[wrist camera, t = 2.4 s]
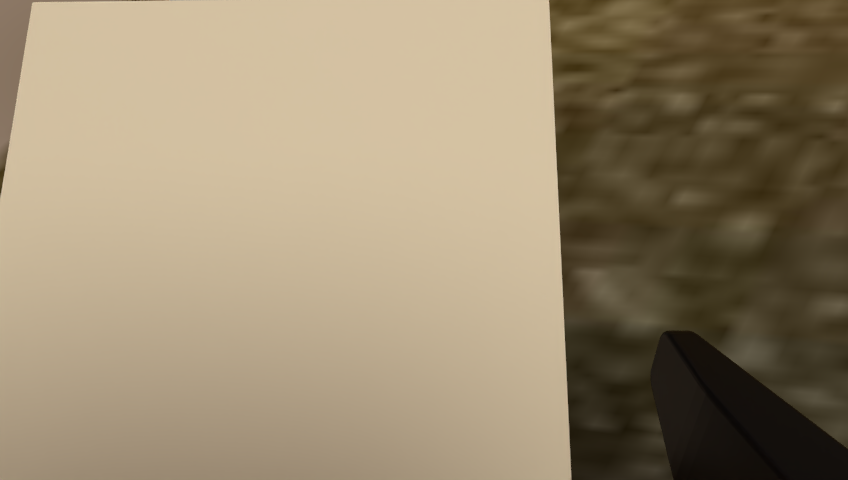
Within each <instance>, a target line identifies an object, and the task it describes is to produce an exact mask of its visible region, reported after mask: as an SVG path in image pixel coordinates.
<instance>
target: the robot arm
mask: <svg viewBox="0 0 848 480" xmlns="http://www.w3.org/2000/svg"><path fill="white" fill-rule="evenodd" d="M651 386H652V390H653V395H654V399H655V403H656V407H657V412H658V416H659V420H660V425H661V429H662V433H663V437H664V442H665V446H666V450H667V455H668V459H669V463H670V467H671V471H672V475H673V479H674V480H848V449H847V448H846V447H844V446H843V445H842V444H841V443H839V442H838V441H837V440H835V439H834V438H833V437H831V436H830V435H829V434H827V433H826V432H825V431H823V430H822V429H821V428H820V427H818V426H817V425H816V424H814V423H813V422H812V421H810V420H809V419H808V418H806V417H805V416H804V415H802V414H801V413H800V412H799V411H797V410H796V409H795V408H793V407H792V406H791V405H789V404H788V403H787V402H785V401H784V400H783V399H781V398H780V397H779V396H778V395H776V394H775V393H774V392H772V391H771V390H770V389H768V388H767V387H766V386H764V385H763V384H762V383H760V382H759V381H758V380H757V379H755V378H754V377H753V376H751V375H750V374H749V373H747V372H746V371H745V370H743V369H742V368H741V367H739V366H738V365H737V364H736V363H734V362H733V361H732V360H730V359H729V358H728V357H726V356H725V355H724V354H722V353H721V352H720V351H718V350H717V349H716V348H715V347H713V346H712V345H711V344H709V343H708V342H707V341H705V340H704V339H703V338H701V337H700V336H699V335H697V334H696V333H694V332H692V331H666V332H664V333H663V334H662V335H661V337H660V340H659V344H658V347H657V351H656V354H655V358H654V361H653V365H652V369H651Z"/></svg>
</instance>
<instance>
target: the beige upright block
mask: <svg viewBox="0 0 848 480" xmlns="http://www.w3.org/2000/svg"><path fill="white" fill-rule="evenodd" d="M0 480H571V460H570V438H569V417H568V396H567V375H566V353H565V332H564V311H563V290H562V268H561V247H560V226H559V204H558V183H557V162H556V141H555V119H554V98H553V77H552V56H551V34H550V13H549V0H179V1H101V2H100V1H97V2H33V3H32V9H31V15H30V21H29V27H28V34H27V40H26V46H25V52H24V58H23V64H22V70H21V76H20V82H19V89H18V95H17V101H16V107H15V113H14V119H13V125H12V131H11V137H10V143H9V149H8V156H7V162H6V168H5V174H4V180H3V186H2V192H1V198H0Z"/></svg>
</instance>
